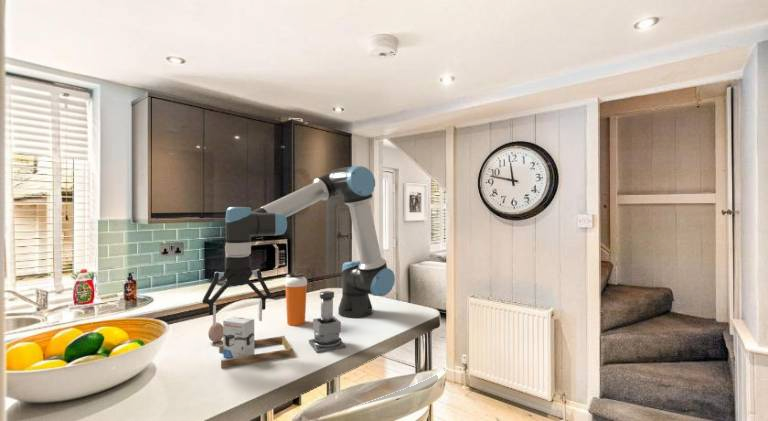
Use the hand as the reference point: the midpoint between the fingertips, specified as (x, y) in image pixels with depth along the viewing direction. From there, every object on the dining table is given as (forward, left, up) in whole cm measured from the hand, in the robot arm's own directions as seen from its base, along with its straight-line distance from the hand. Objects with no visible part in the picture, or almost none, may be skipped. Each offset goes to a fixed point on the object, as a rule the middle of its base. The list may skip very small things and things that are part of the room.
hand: (237, 322), depth 120 cm
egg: (+6, -17, -11) cm, 21 cm away
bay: (-5, 0, -11) cm, 12 cm away
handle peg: (-28, +3, -6) cm, 29 cm away
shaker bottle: (-24, -26, -11) cm, 37 cm away
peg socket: (-28, +3, -11) cm, 30 cm away
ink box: (0, 0, -11) cm, 11 cm away
